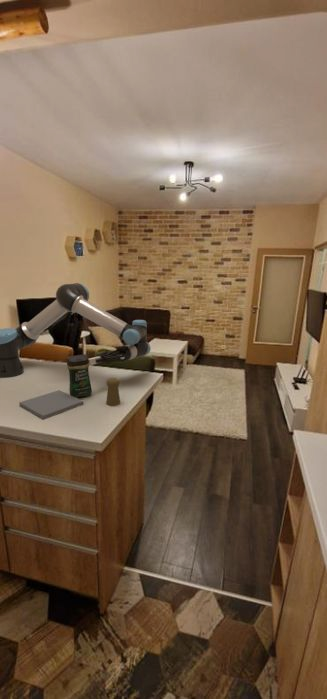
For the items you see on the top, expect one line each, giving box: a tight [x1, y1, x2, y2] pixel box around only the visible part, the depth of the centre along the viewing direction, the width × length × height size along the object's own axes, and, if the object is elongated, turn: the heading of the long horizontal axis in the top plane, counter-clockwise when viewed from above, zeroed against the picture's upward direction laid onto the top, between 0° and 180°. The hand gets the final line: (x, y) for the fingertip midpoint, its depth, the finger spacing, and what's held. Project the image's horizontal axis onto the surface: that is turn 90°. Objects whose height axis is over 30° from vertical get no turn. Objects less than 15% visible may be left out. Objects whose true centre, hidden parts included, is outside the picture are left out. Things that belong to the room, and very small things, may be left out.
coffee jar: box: [66, 353, 93, 399], centre depth 137 cm, size 10×8×19 cm
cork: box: [105, 377, 121, 407], centre depth 131 cm, size 6×6×11 cm
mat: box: [18, 389, 85, 420], centre depth 128 cm, size 18×18×2 cm
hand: (88, 362), depth 139 cm, fingers closed
